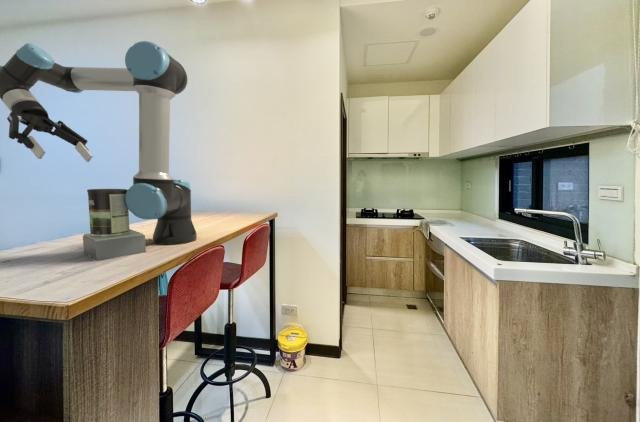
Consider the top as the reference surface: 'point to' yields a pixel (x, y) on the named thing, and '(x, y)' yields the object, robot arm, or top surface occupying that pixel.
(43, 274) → the top surface
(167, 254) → the top surface
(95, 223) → the coffee can
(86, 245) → the base block
